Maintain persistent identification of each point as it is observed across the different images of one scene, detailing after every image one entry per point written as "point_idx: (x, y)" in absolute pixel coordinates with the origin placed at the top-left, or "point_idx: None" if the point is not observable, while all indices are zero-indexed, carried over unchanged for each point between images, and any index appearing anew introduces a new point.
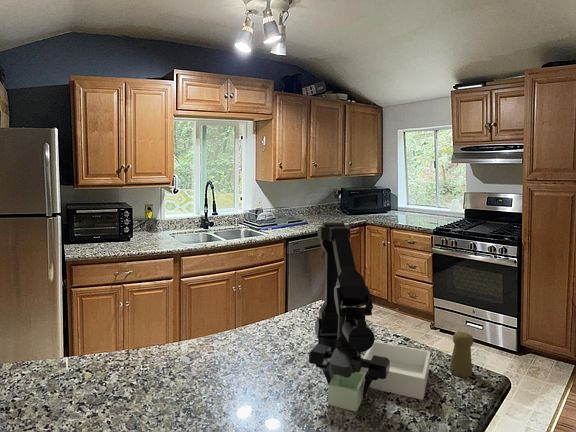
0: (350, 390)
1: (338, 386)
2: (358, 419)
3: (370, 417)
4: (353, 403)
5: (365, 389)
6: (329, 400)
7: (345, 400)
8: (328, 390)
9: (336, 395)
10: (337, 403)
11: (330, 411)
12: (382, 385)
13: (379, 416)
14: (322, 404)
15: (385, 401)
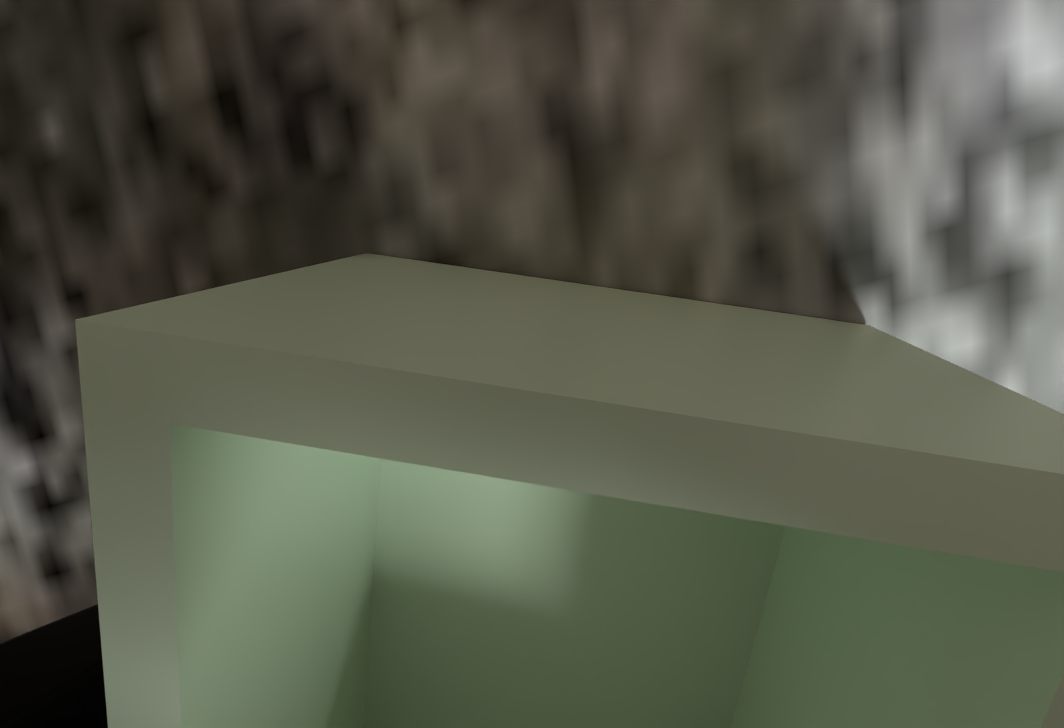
0: (339, 354)
1: (814, 480)
2: (302, 48)
3: (145, 172)
4: (378, 277)
5: (88, 633)
6: (876, 340)
7: (545, 304)
8: (1058, 418)
9: (775, 354)
10: (705, 308)
11: (805, 129)
12: None
13: (37, 241)
14: (968, 302)
15: (65, 606)
